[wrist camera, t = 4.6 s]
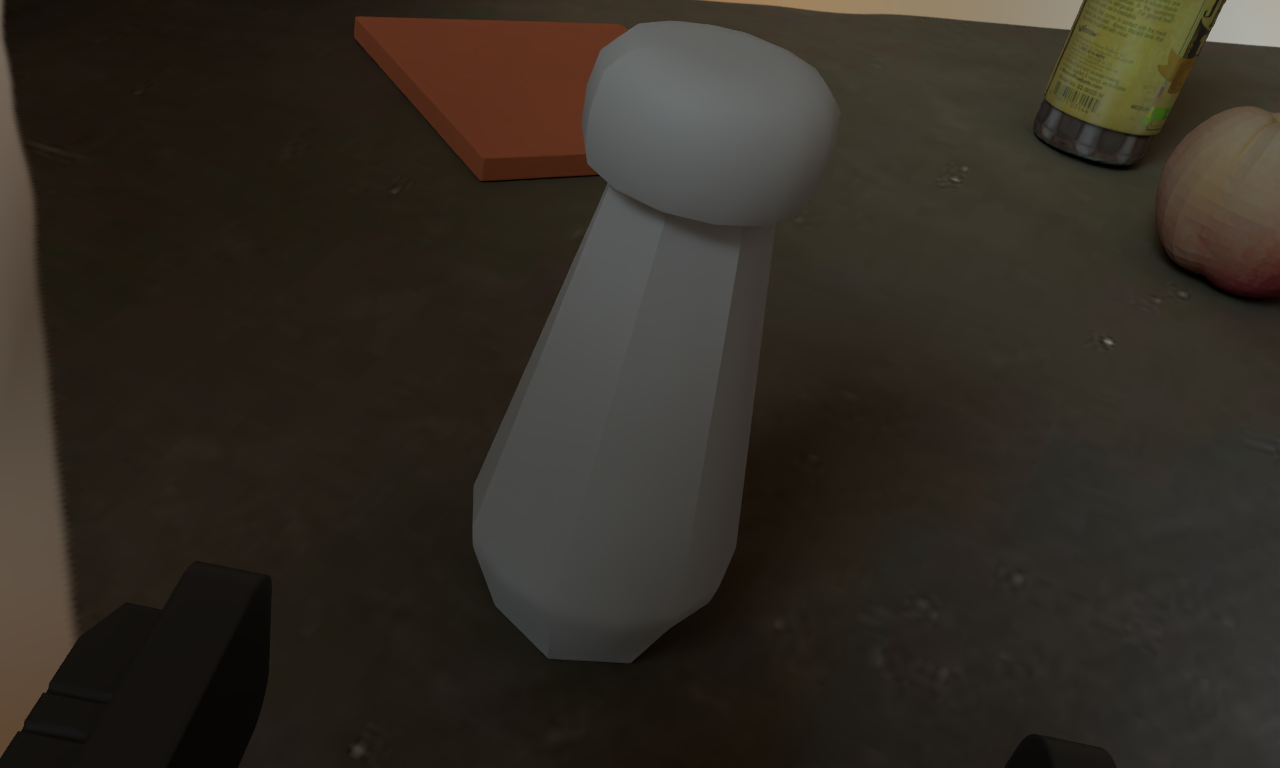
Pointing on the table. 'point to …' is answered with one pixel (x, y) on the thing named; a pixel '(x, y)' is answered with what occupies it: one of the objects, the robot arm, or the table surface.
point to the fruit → (1225, 202)
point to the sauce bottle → (1121, 75)
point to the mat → (495, 87)
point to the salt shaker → (651, 343)
